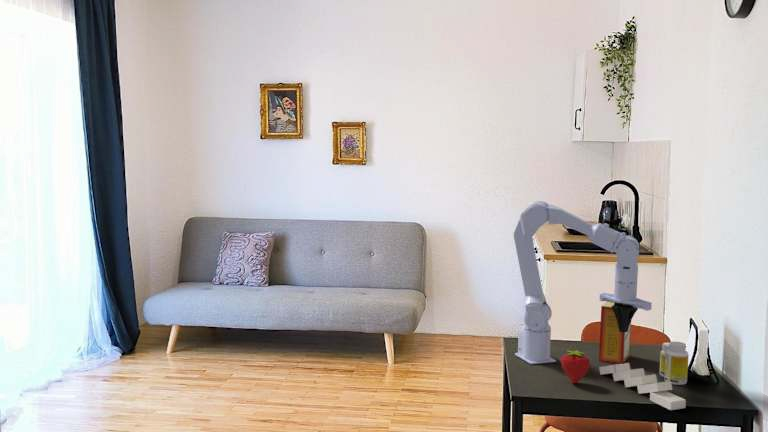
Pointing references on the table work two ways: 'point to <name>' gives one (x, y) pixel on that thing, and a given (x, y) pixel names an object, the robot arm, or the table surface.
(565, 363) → the strawberry
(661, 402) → the domino
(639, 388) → the domino
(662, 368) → the supplement bottle
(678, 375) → the supplement bottle
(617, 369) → the domino head
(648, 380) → the domino
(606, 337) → the baking soda box
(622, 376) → the domino
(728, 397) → the table surface
